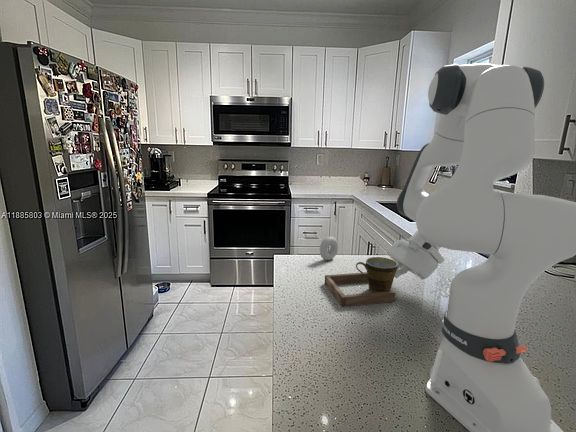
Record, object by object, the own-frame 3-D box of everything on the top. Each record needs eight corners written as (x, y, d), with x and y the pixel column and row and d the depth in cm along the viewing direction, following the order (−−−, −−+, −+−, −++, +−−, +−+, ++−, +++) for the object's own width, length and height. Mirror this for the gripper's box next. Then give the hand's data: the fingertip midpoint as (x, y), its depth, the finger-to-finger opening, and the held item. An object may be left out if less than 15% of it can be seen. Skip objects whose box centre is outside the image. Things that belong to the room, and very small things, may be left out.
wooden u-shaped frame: (394, 301, 97) (395, 292, 97) (342, 306, 94) (342, 297, 93) (370, 279, 113) (371, 271, 112) (324, 283, 109) (324, 275, 109)
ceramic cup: (393, 286, 108) (396, 258, 106) (396, 299, 98) (399, 269, 96) (355, 281, 111) (356, 254, 109) (354, 294, 101) (355, 265, 99)
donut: (333, 256, 137) (334, 233, 134) (339, 258, 134) (340, 235, 132) (317, 261, 130) (318, 238, 128) (323, 263, 128) (324, 239, 126)
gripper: (399, 231, 114) (372, 258, 114) (436, 249, 94) (404, 282, 94) (409, 242, 115) (383, 269, 116) (448, 262, 96) (416, 294, 96)
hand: (392, 275), depth 105 cm, fingers closed
